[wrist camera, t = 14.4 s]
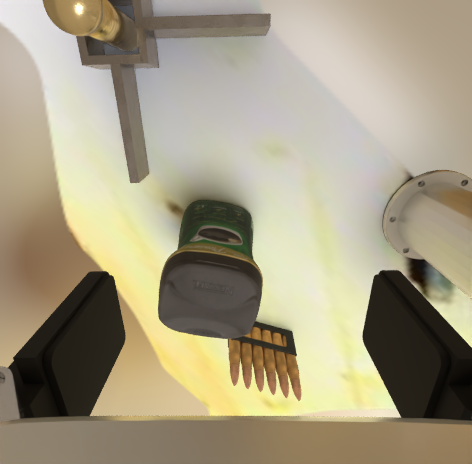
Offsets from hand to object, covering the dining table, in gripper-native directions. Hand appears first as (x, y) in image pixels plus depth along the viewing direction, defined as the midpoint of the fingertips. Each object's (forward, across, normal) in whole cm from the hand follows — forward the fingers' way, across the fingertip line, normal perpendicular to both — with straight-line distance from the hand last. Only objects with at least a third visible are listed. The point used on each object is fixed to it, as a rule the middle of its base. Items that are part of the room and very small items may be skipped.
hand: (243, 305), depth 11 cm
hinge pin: (+29, +12, -14) cm, 35 cm away
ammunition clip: (+30, -3, +27) cm, 41 cm away
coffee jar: (+30, +3, +9) cm, 32 cm away
